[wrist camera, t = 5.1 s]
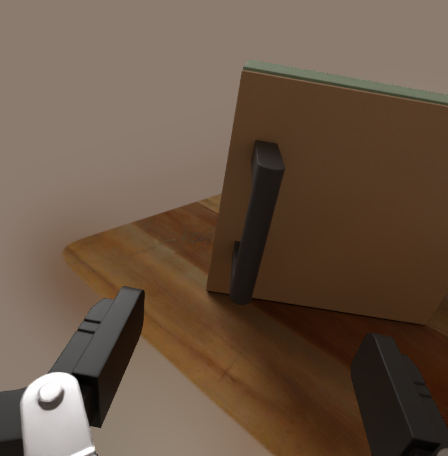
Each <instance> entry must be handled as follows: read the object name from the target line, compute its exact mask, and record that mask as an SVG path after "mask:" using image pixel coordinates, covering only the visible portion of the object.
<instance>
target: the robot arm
mask: <svg viewBox="0 0 448 456" xmlns="http://www.w3.org/2000/svg"><path fill="white" fill-rule="evenodd" d="M144 298H145V292H144V290H141V289H136V288H131V287H126V286H123V287H122V288H121V289H120V291H119V293H118V294H117V296H116V298H115V299H114V300H113V299H108V298H104V299H102V300H101V301H100V302H98V303H97V304H96V305H94V306H93V307H92V308H91V309H90V311H89V313H88V314H87V315H86V317H85V319H84V321H82V323H81V324H80V326H79V327H78V330H77V331H76V332H75V334H74V335H73V337H72V338H71V340H70V341H69V343H68V344H67V346H66V347H65V349H64V350H63V352H62V353H61V355H60V356H59V358H58V359H57V361H56V362H55V364H54V365H53V367H52V368H51V370H50V371H49V372H48V373H47V374H46V375H44V376H42V377H40V378H38V379H37V380H35V381H34V382H32V383H31V384H30V385H29V386H28V387H25V388H22V389H18V390H13V391H3V392H0V456H98V454H96V451H95V448H94V444H93V440H92V436H91V432H90V426H93V427H98V428H101V426H102V424H103V421H104V419H105V417H106V415H107V412H108V410H109V408H110V405H111V403H112V401H113V398H114V396H115V394H116V391H117V389H118V387H119V384H120V382H121V380H122V377H123V375H124V373H125V370H126V368H127V366H128V363H129V361H130V359H131V356H132V354H133V352H134V349H135V347H136V345H137V342H138V340H139V337H140V335H141V331H142V327H143V320H144ZM351 379H352V383H353V387H354V390H355V394H356V398H357V401H358V405H359V409H360V413H361V416H362V420H363V424H364V428H365V431H366V435H367V439H368V443H369V446H370V450H371V454H372V456H448V429H447V427H446V425H445V422H444V420H443V418H442V416H441V414H440V412H439V410H438V408H437V406H436V404H435V402H434V400H433V399H432V398H431V397H432V396H431V394H430V392H429V389H428V387H426V386H425V384H426V383H425V381H424V379H423V377H422V375H421V373H420V371H419V369H418V368H417V367H416V365H415V364H414V363H413V362H412V361H411V360H410V359H409V357H408V356H407V355H404V354H401V353H400V351H399V349H398V347H397V344H396V342H395V340H394V339H393V338H392V337H391V336H386V335H381V334H376V333H371V332H369V333H367V334H366V336H365V337H364V339H363V341H362V343H361V345H360V347H359V349H358V351H357V353H356V355H355V357H354V359H353V361H352V364H351Z"/></svg>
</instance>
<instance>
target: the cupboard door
mask: <svg viewBox="0 0 448 456" xmlns="http://www.w3.org/2000/svg"><path fill="white" fill-rule="evenodd" d="M206 290H207V291H214V292H220V293H226V294H229V297H230V299H231V300H232V301H233V302H234V303H236V304H239V305H246V304H248V303H250V302H251V299H252V298H258V299H264V300H270V301H277V302H283V303H289V304H296V305H302V306H308V307H315V308H321V309H327V310H333V311H340V312H346V313H352V314H359V315H365V316H371V317H378V318H384V319H390V320H397V321H403V322H409V323H415V324H422V325H426V324H427V323H428V321H429V320H430V318H431V316H432V315H433V313H434V312H435V310H436V309H437V307H438V305H439V304H440V302H441V301H442V299H443V298H444V296H445V295H446V293H447V291H448V106H446V105H440V104H435V103H429V102H423V101H418V100H412V99H406V98H400V97H395V96H389V95H383V94H378V93H372V92H366V91H361V90H355V89H349V88H343V87H338V86H332V85H326V84H321V83H315V82H309V81H304V80H298V79H292V78H287V77H281V76H275V75H269V74H264V73H258V72H252V71H247V70H242V74H241V80H240V86H239V92H238V98H237V105H236V111H235V117H234V123H233V129H232V135H231V141H230V147H229V154H228V159H227V166H226V171H225V177H224V184H223V190H222V196H221V202H220V208H219V214H218V220H217V226H216V232H215V238H214V244H213V251H212V257H211V263H210V269H209V275H208V281H207V287H206Z"/></svg>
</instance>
